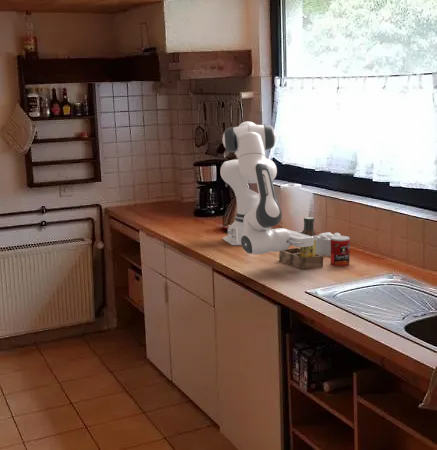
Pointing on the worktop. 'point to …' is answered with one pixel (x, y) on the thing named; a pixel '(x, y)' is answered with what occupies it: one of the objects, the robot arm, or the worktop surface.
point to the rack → (300, 259)
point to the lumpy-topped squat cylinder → (324, 243)
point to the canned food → (340, 250)
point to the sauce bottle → (309, 235)
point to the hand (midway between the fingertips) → (309, 235)
